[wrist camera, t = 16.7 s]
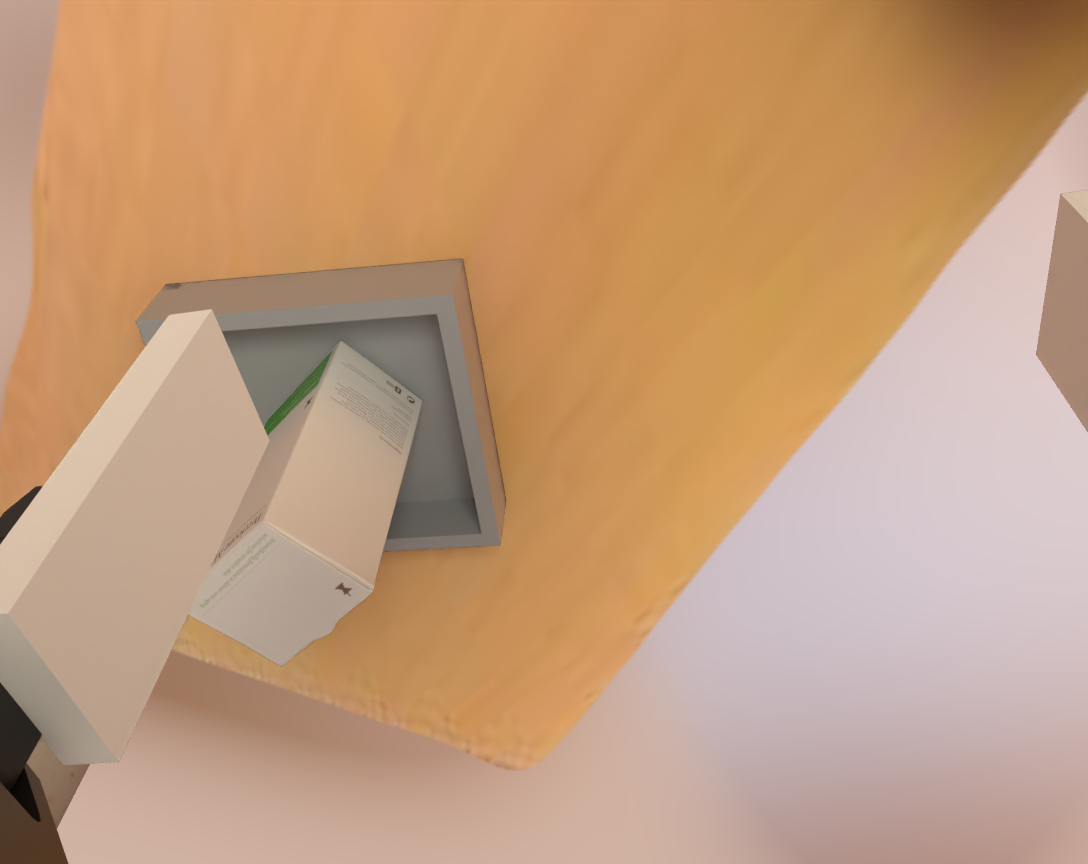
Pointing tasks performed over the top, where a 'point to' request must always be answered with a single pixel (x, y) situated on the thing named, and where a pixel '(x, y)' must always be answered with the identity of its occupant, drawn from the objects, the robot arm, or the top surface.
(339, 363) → the skincare box
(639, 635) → the top surface
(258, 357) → the tray
